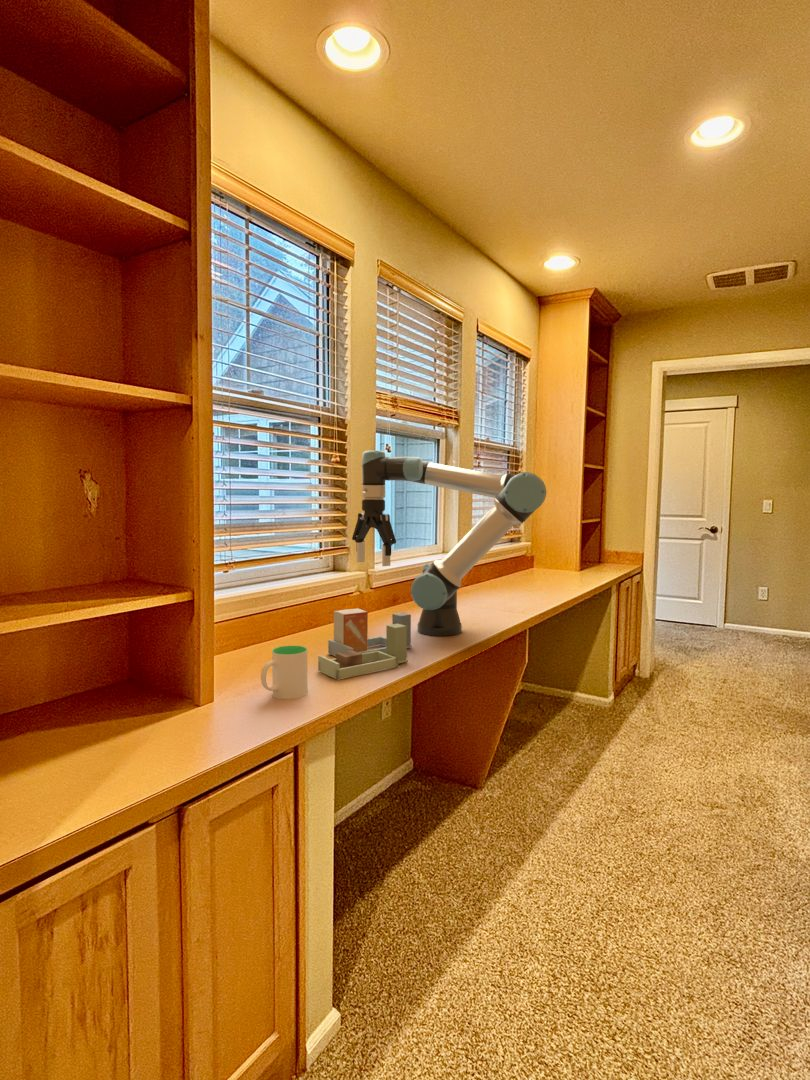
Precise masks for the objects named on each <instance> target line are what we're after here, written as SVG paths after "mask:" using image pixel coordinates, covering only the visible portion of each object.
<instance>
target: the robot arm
mask: <svg viewBox="0 0 810 1080" xmlns="http://www.w3.org/2000/svg"><path fill="white" fill-rule="evenodd" d="M361 458H362V460H361V479H362V480H361V485H362V487H361V497H362V498H363V499H362V500H361V509H362V511H363V512H358V514H357V521H356V523H355V528H354V531H353V533H352V537H351V538H352V539H351V540H352V541H355V543H356V563H365V560H366V557H365V554H366V549H365V547H366V545H365V544H366V542H365V538H366V537H367V535H368V533H369V531H370V529H372V528H373V529H375V530H376V531H377V533H378V535H379V537H380V539H381V540H382V543H383V544H382V547H381V548H382V551H381V553H382V557H381V558H382V559H381V563H382V565H381V566H382V567H389V566H391V556H392V546H393V545H395V544H396V543H397V540H396V537H395V533H394V529H393V526H392V523H391V518H390V517H391V516H390V514H389V513H386V514H385V513H384V514H383V512H384V511H385V510H386V500H385V498H386V481H396V482H397V481H400V482H401V481H402V482H404V481H405V482H412V483H418V484H423V485H428V486H434V487H438V488H444V489H448V490H453V491H457V492H464V493H467V494H468V493H469V494H475V495H477V496H483V497H488V498H493V499H494V505H492V507H491V508H490V509H489V510H488V511H487V512H486V513H485V514H484V515H483V516H482V517H481V518H480V520H479V521H477V522H476V524H475V525H474V526H473V527H472V528H471V529H470V530H469V531H467V533H466V534H465V535H463V537H462V538H461V539H460V540H459V541H458V542H457V543H456V544H455V546H454V547H452V548H451V550H450V551H449V552H448V553H447V554H446V555H445V556H444V557H443V558H442V559H438V560H437V559H435V560H434V561H433V562H431V564H428V563H426V564H424V565H423V566H422V567H423V568H422V570H421V571H422V573H421V574H419V575H417V576H415V577H416V578H415V579H414V580H413V582H412V583H411V586H410V595H411V597H412V600H413V601H414V603H415V605H417V606H418V607H419V608H420V609H422V610H421V613H420V617H419V620H418V622H417V632H418V633H420V634H422V635H423V634H424V635H426V636H436V637H437V636H441V637H442V636H446V637H447V636H455V635H459V634H461V633H462V631H463V630H462V628H463V626H462V625H463V624H462V622H461V619H460V615H459V612H458V606H457V605H458V599H457V598H458V590H459V589H460V588H461V587H462V579H463V578H464V577H466V575H467V574H468V573H469V572H470V570H472V569H473V567H475V566H476V564H477V563H478V562H479V561H480V560H481V559H483V557H485V556H486V554H487V553H488V552H489V551H490V550H491V549H492V548H493V547H494V546H495V545H496V544H497V543H498V542H499V541H500V540H501V539H502V538H503V537H504V536H505V535H506V534H507V533H508V532H509V531H510V530H511V529H512V528H513V526H515V525H522V524H523V523H525V522H526V521H527V520H528V519H529V517H531V515H532V514H533V513H534V512H535V511H536V510H538V509H539V508H540V507H541V506H542V505H543V503H544V502H545V500H546V497H547V487H546V485H545V482H544V480H542V478H541V477H539V476H538V475H537V474H535V473H532V472H528V471H527V472H526V471H525V472H520V473H517V474H511V473H505V474H504V475H500V474H494V473H488V472H485V471H478V470H474V469H468V468H462V467H458V466H457V467H456V466H452V465H447V464H446V465H445V464H442V463H435V462H430V461H425V460H422V458H421V457H419V456H410V455H409V456H387V455H386V452H385V451H384V450H365V451H364V452H362V457H361Z"/></svg>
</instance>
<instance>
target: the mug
mask: <svg viewBox="0 0 810 1080" xmlns="http://www.w3.org/2000/svg"><path fill="white" fill-rule="evenodd" d="M271 650H272V651H271V655H272V656H271V658H272V659H271V660H268V661H267V662H265V663H264V665H263V666H262V668H261V671H260V682H261V685H262V687H263V688H264V689H265V690H267V691H271V692H272V697H274V698H277V699H280V700H294V699H295V700H296V699H299V698H303V697H305V696H306V695H307V694H308V692H309V691H308V688H309V687H308V678H309V677H308V648H307V647H306V646H302V645H284V646H283V645H282V646H278V647H274V648H272V649H271ZM270 667H272V668H271V669H272V673H271V674H272V675H271V676H272V685H271V686H269V685H268V683H267V674H268V670H269V668H270Z"/></svg>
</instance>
